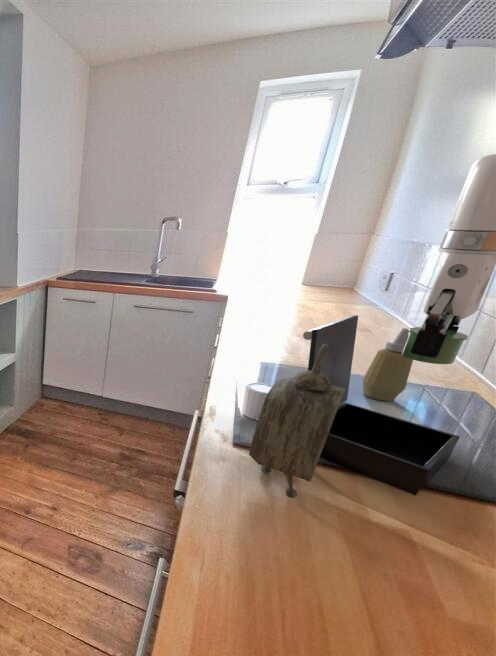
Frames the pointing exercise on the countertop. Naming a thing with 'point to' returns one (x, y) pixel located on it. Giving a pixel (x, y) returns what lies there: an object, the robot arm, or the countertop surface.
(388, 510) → the countertop surface
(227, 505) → the countertop surface
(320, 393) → the tan textured upright piece
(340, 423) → the black rectangular tray
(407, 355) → the pot
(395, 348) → the squeeze bottle
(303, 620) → the countertop surface
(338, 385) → the lid
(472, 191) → the robot arm
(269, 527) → the countertop surface
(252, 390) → the white short cylinder
